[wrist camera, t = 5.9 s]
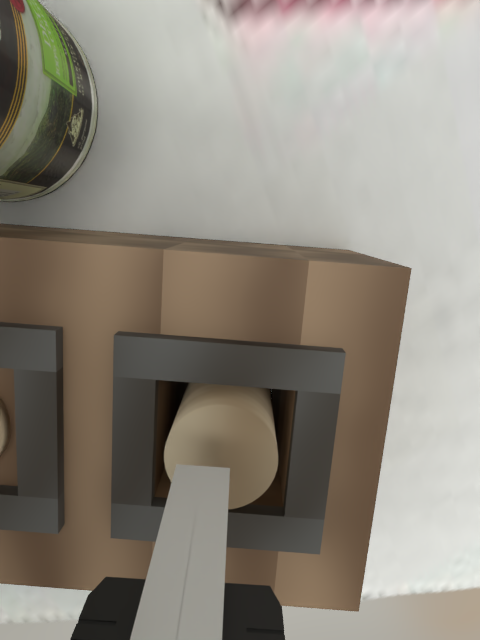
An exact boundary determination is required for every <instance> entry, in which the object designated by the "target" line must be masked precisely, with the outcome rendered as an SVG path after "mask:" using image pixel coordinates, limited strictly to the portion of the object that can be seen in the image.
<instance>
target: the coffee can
mask: <svg viewBox="0 0 480 640" xmlns="http://www.w3.org/2000/svg"><path fill="white" fill-rule="evenodd" d="M96 121H97V96H96V88H95V84H94V79H93V76H92V73H91V69H90V67H89V64H88V61H87V59H86V56H85V55H84V53H83V51H82V49H81V47H80V46H79V44H78V43H77V41H76V40H75V38H74V37H73V36H72V35H71V33H70V32H69V31H68V30H67V29H66V27H65V26H64V25H63V24H62V23H60V22H59V21H58V20H57V19H56V18H55V17H54V16H53V15H52V14H50V13H49V12H48V11H47V10H46V9H45V8H44V7H43V6H42V5H41V4H40V3H39V2H38V1H37V0H0V201H7V202H13V201H24V200H29V199H34V198H37V197H40V196H42V195H45V194H47V193H50V192H52V191H54V190H55V189H57V188H58V187H59V186H60V185H62V184H63V183H64V182H66V181H67V180H68V179H69V178H70V177H71V176H72V175H73V174H74V173H75V171H76V170H77V169H78V168H79V166H80V165H81V163H82V162H83V160H84V158H85V157H86V155H87V153H88V151H89V148H90V146H91V143H92V140H93V137H94V133H95V129H96Z"/></svg>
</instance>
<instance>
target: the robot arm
mask: <svg viewBox="0 0 480 640" xmlns="http://www.w3.org/2000/svg"><path fill="white" fill-rule="evenodd" d="M229 479H230V468H223V467H209V466H194V465H180V464H176V468H175V471H174V475H173V479H172V483H171V487H170V490H169V494H168V498H167V502H166V505H165V509H164V513H163V517H162V521H161V524H160V528H159V532H158V536H157V539H156V543H155V547H154V551H153V554H152V558H151V562H150V566H149V570H148V573H147V577H146V579H135V578H119V577H105V578H104V579H103V580H102V581H101V582H100V583H99V585H98V586H97V587H96V588H95V589H94V590H93V591H92V592H91V593H90V594H89V595H88V597H87V600H86V602H85V605H84V607H83V610H82V612H81V614H80V617H79V621H78V624H76V627H75V629H74V632H73V634H72V637H71V640H285V635H284V625H283V615H282V606H281V604H280V603H279V601H278V599H277V597H276V596H275V594H274V592H273V590H272V589H271V587H270V586H267V585H251V584H236V583H225V565H226V543H227V522H228V500H229Z"/></svg>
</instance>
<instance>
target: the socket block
mask: <svg viewBox="0 0 480 640" xmlns="http://www.w3.org/2000/svg"><path fill="white" fill-rule="evenodd" d="M410 274H411V268H409V267H405V266H402V265H398V264H395V263H391V262H388V261H384V260H381V259H378V258H374V257H371V256H367V255H364V254H360V253H357V252H353V251H350V250H340V249H327V248H313V247H300V246H287V245H274V244H261V243H248V242H234V241H221V240H208V239H195V238H182V237H168V236H155V235H142V234H129V233H116V232H102V231H89V230H76V229H63V228H50V227H36V226H23V225H10V224H0V583H1V584H14V585H27V586H40V587H52V588H65V589H78V590H91V591H93V590H94V589H95V588H96V587H97V586H98V585H99V583H100V582H101V581H102V580H103V579H104V578H105V577H119V578H135V579H146V577H147V573H148V570H149V566H150V562H151V558H152V554H153V551H154V547H155V543H156V539H157V536H158V532H159V528H160V524H161V521H162V517H163V513H164V509H165V505H166V502H167V498H168V494H169V490H170V487H171V483H172V482H171V481H170V479H169V477H168V475H167V472H166V469H165V463H164V450H165V445H166V441H167V438H168V436H169V433H170V430H171V428H172V425H173V422H174V420H175V417H176V414H177V412H178V409H179V406H180V404H181V401H182V398H183V396H184V393H185V390H186V388H187V385H188V382H191V383H204V384H217V385H230V386H243V387H256V388H269V389H272V400H271V401H272V409H273V417H274V425H275V433H276V441H277V449H278V467H277V472H276V475H275V477H274V479H273V481H272V483H271V485H270V486H269V488H268V489H267V490H266V491H265V492H264V493H263V494H262V495H261V496H260V497H259V498H258V499H256V500H255V501H253V502H251V503H249V504H247V505H245V506H242V507H239V508H235V509H228V522H227V543H226V565H225V583H236V584H251V585H267V586H270V587H271V589H272V590H273V592H274V594H275V596H276V597H277V599H278V601H279V603H280V604H281V605H282V606H294V607H307V608H320V609H333V610H345V611H359V605H360V599H361V592H362V586H363V579H364V573H365V566H366V560H367V553H368V547H369V540H370V534H371V527H372V521H373V514H374V508H375V501H376V495H377V488H378V482H379V475H380V469H381V462H382V456H383V449H384V443H385V436H386V430H387V423H388V417H389V410H390V404H391V397H392V391H393V384H394V378H395V371H396V365H397V358H398V352H399V345H400V339H401V332H402V326H403V319H404V313H405V306H406V300H407V293H408V287H409V280H410Z"/></svg>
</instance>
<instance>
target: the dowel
mask: <svg viewBox="0 0 480 640" xmlns="http://www.w3.org/2000/svg"><path fill="white" fill-rule="evenodd" d="M164 463H165V469H166V472H167V475H168V477H169V479H170V481H171V482H172V479H173V475H174V471H175V468H176V464H180V465H194V466H209V467H223V468H230V479H229V500H228V509H235V508H239V507H242V506H245V505H247V504H249V503H251V502H253V501H255V500H256V499H258V498H259V497H260V496H261V495H262V494H263V493H264V492H265V491H266V490H267V489H268V488H269V486H270V485H271V483H272V481H273V479H274V477H275V475H276V472H277V467H278V449H277V441H276V433H275V425H274V417H273V409H272V401H271V393H270V389H269V388H256V387H243V386H230V385H217V384H204V383H191V382H188V385H187V388H186V390H185V393H184V396H183V398H182V401H181V404H180V406H179V409H178V412H177V414H176V417H175V420H174V422H173V425H172V428H171V430H170V433H169V436H168V438H167V441H166V445H165V450H164Z"/></svg>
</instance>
